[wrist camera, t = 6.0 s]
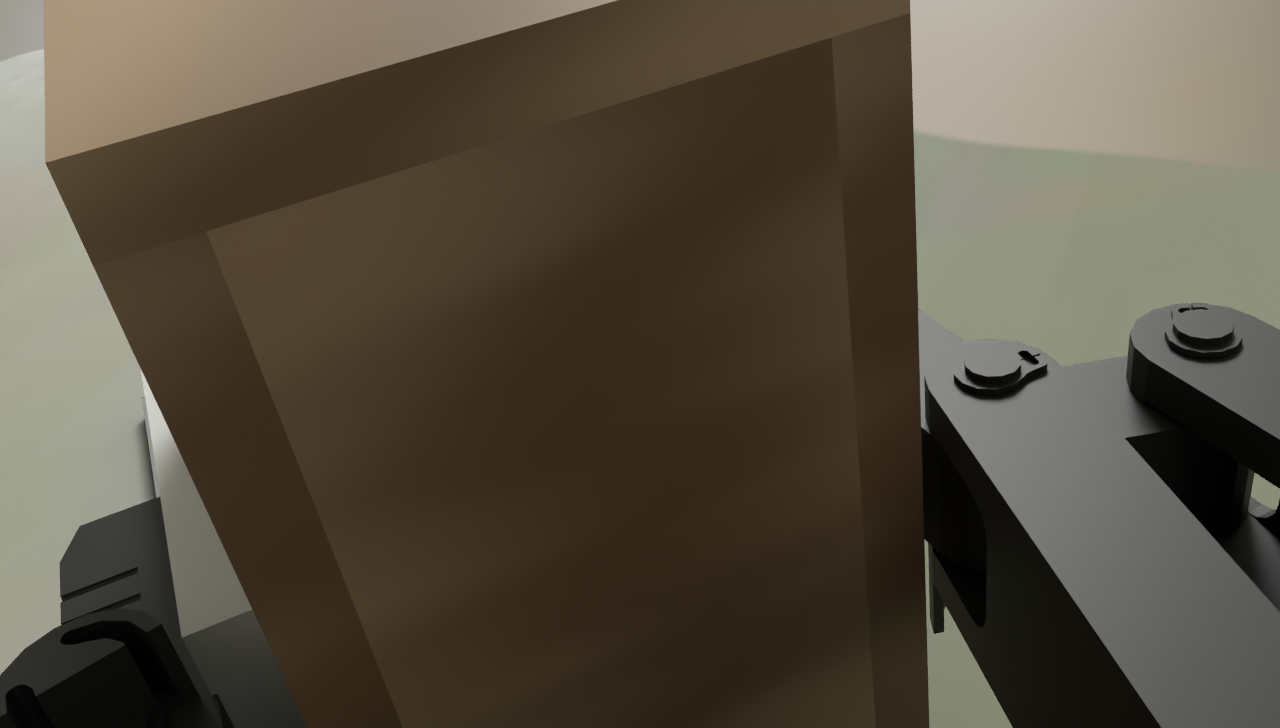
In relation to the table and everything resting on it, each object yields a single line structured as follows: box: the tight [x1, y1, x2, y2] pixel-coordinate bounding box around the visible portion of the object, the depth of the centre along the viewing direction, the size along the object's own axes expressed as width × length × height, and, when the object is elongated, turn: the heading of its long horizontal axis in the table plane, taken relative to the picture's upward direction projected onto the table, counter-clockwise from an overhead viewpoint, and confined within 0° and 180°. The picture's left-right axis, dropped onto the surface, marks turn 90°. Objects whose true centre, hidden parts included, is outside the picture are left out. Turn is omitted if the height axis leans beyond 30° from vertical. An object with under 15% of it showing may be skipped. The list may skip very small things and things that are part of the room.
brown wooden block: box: [44, 0, 929, 728], centre depth 12 cm, size 5×5×12 cm
